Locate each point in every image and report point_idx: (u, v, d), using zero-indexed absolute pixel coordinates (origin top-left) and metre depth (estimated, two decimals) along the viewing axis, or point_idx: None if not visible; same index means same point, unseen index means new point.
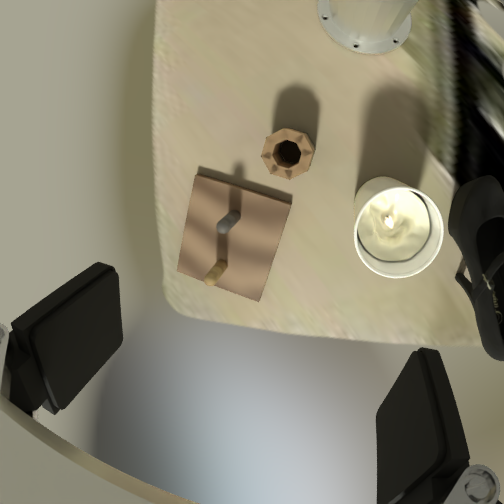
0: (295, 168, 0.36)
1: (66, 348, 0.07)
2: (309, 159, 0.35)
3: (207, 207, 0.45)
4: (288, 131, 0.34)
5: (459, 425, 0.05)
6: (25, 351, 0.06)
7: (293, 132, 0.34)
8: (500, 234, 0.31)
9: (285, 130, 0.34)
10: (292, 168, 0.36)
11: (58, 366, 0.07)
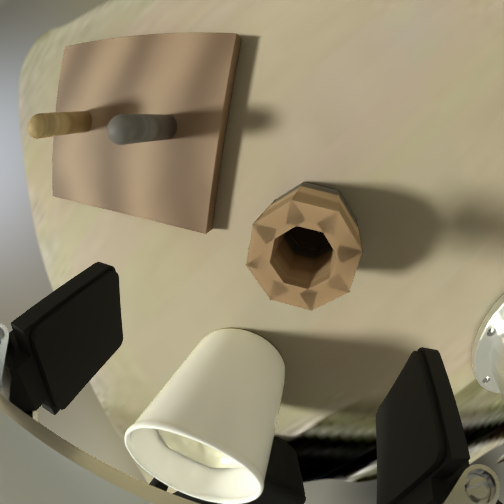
0: (272, 276, 0.17)
1: (66, 348, 0.07)
2: (295, 303, 0.17)
3: (173, 70, 0.19)
4: (354, 261, 0.15)
5: (459, 425, 0.05)
6: (25, 351, 0.06)
7: (352, 271, 0.16)
8: None
9: (356, 255, 0.15)
10: (271, 270, 0.17)
11: (58, 366, 0.07)
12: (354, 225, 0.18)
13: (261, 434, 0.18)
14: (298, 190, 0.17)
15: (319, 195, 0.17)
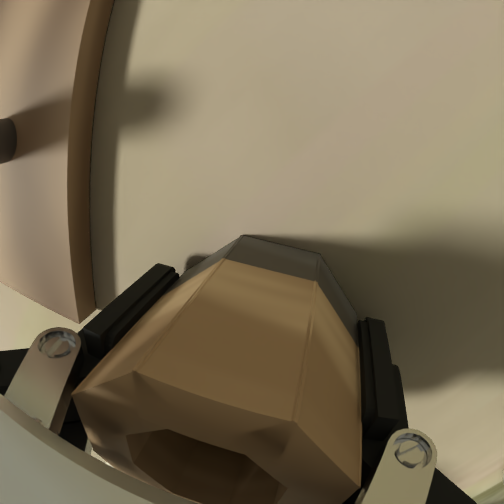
0: (148, 480, 0.06)
1: None
2: None
3: (16, 40, 0.07)
4: (336, 498, 0.04)
5: (392, 387, 0.06)
6: (97, 356, 0.07)
7: None
8: None
9: (343, 491, 0.04)
10: (142, 473, 0.06)
11: None
12: (351, 361, 0.07)
13: None
14: (199, 289, 0.06)
15: (258, 301, 0.06)
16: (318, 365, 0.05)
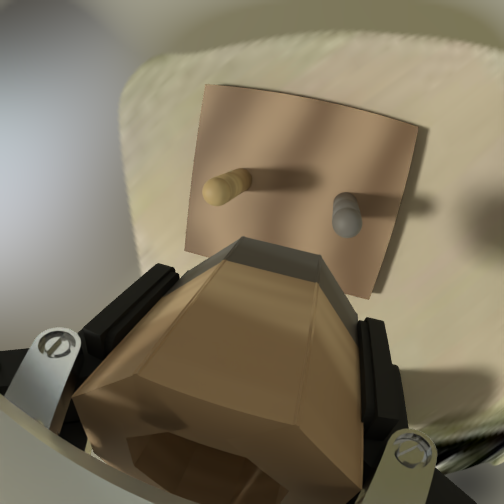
0: (148, 482, 0.06)
1: None
2: None
3: (357, 149, 0.21)
4: (337, 501, 0.04)
5: (392, 387, 0.06)
6: (97, 356, 0.07)
7: None
8: None
9: (345, 493, 0.04)
10: (143, 476, 0.06)
11: None
12: (352, 363, 0.07)
13: None
14: (200, 291, 0.06)
15: (260, 303, 0.06)
16: (320, 368, 0.05)
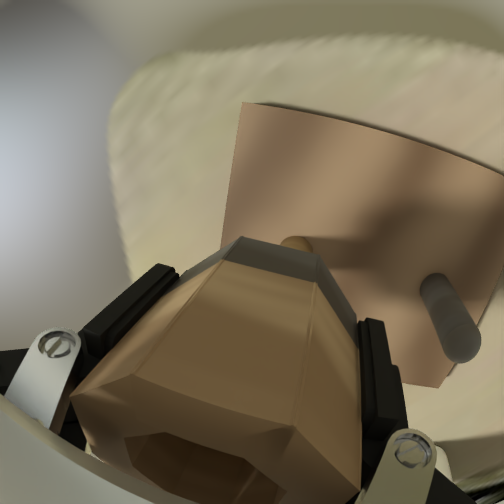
0: (146, 482, 0.06)
1: None
2: None
3: (459, 215, 0.14)
4: (335, 501, 0.04)
5: (392, 387, 0.06)
6: (97, 356, 0.07)
7: None
8: None
9: (343, 494, 0.04)
10: (141, 476, 0.06)
11: None
12: (351, 363, 0.07)
13: None
14: (198, 291, 0.06)
15: (257, 303, 0.06)
16: (318, 368, 0.05)
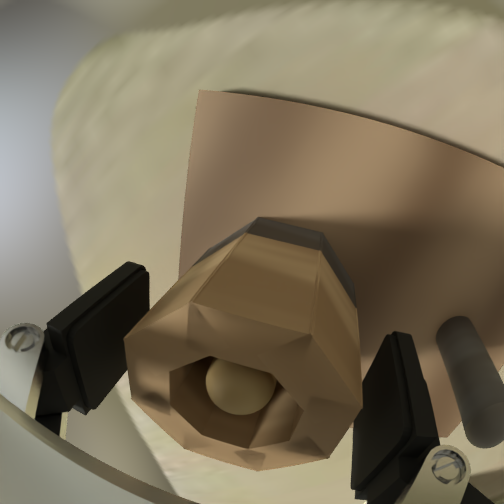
0: (180, 424, 0.08)
1: (100, 347, 0.07)
2: (228, 460, 0.08)
3: (493, 243, 0.09)
4: (343, 422, 0.06)
5: (427, 404, 0.06)
6: (60, 352, 0.06)
7: (337, 435, 0.07)
8: None
9: (349, 412, 0.06)
10: (176, 416, 0.08)
11: (92, 366, 0.07)
12: (350, 315, 0.09)
13: None
14: (230, 252, 0.08)
15: (277, 261, 0.08)
16: (325, 306, 0.07)
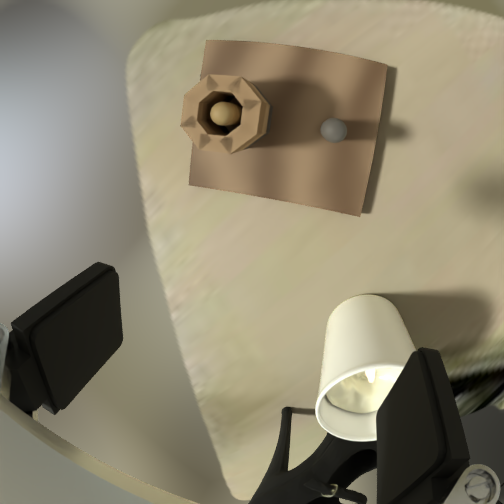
0: (199, 131, 0.21)
1: (66, 348, 0.07)
2: (217, 150, 0.22)
3: (337, 84, 0.23)
4: (256, 109, 0.20)
5: (459, 425, 0.05)
6: (25, 351, 0.06)
7: (256, 117, 0.20)
8: (356, 456, 0.32)
9: (257, 104, 0.20)
10: (198, 126, 0.21)
11: (58, 366, 0.07)
12: (264, 99, 0.23)
13: None
14: None
15: None
16: (249, 83, 0.21)
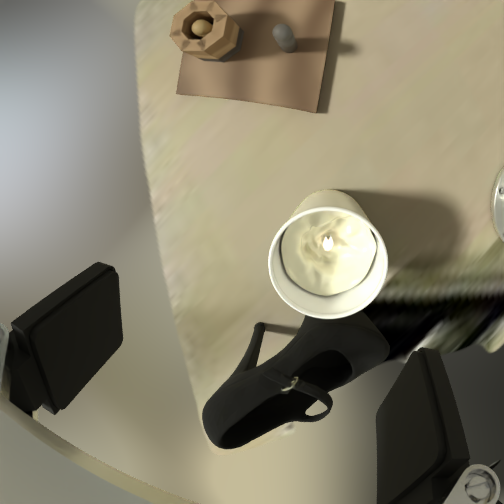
0: (182, 38, 0.25)
1: (66, 348, 0.07)
2: (194, 49, 0.25)
3: (294, 13, 0.27)
4: (223, 20, 0.23)
5: (459, 425, 0.05)
6: (25, 351, 0.06)
7: (223, 25, 0.24)
8: (327, 371, 0.35)
9: (224, 17, 0.23)
10: (182, 35, 0.25)
11: (58, 366, 0.07)
12: None
13: None
14: None
15: None
16: None
